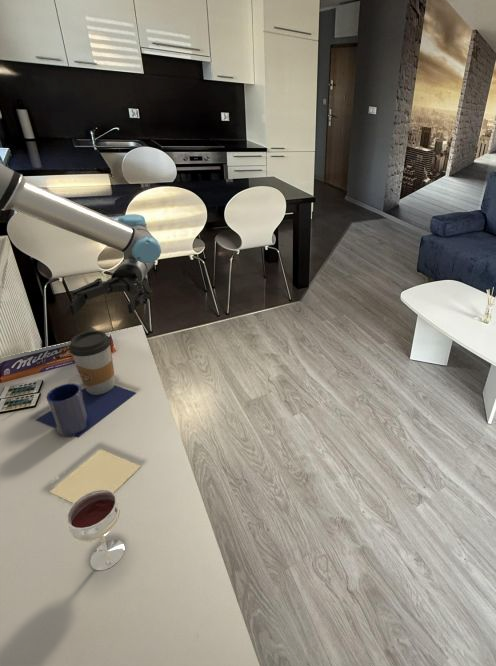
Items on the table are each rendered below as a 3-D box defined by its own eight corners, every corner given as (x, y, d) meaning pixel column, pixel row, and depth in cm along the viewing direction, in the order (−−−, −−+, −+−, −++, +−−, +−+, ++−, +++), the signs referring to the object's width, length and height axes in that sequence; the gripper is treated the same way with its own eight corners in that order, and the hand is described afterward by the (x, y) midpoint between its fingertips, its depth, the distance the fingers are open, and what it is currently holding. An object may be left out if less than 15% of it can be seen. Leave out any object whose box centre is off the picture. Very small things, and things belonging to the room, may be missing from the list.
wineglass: (80, 583, 63) (62, 536, 57) (86, 543, 68) (69, 497, 63) (129, 565, 66) (115, 519, 60) (131, 528, 71) (118, 483, 66)
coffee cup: (73, 392, 99) (58, 343, 93) (102, 373, 107) (90, 326, 100) (99, 402, 97) (86, 352, 91) (127, 381, 104) (116, 334, 98)
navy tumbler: (52, 431, 88) (39, 397, 84) (77, 413, 93) (66, 380, 89) (72, 440, 87) (60, 405, 82) (96, 421, 92) (87, 387, 87)
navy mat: (35, 420, 91) (35, 420, 91) (98, 379, 105) (97, 379, 105) (78, 438, 87) (78, 437, 87) (136, 393, 101) (136, 392, 101)
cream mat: (49, 492, 76) (49, 491, 76) (100, 449, 85) (100, 449, 85) (93, 513, 73) (93, 512, 73) (141, 466, 82) (140, 466, 82)
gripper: (174, 285, 125) (155, 320, 106) (87, 286, 120) (51, 323, 102) (171, 263, 122) (151, 295, 103) (81, 263, 117) (42, 297, 98)
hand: (101, 309), depth 102 cm, fingers open, 13 cm apart
